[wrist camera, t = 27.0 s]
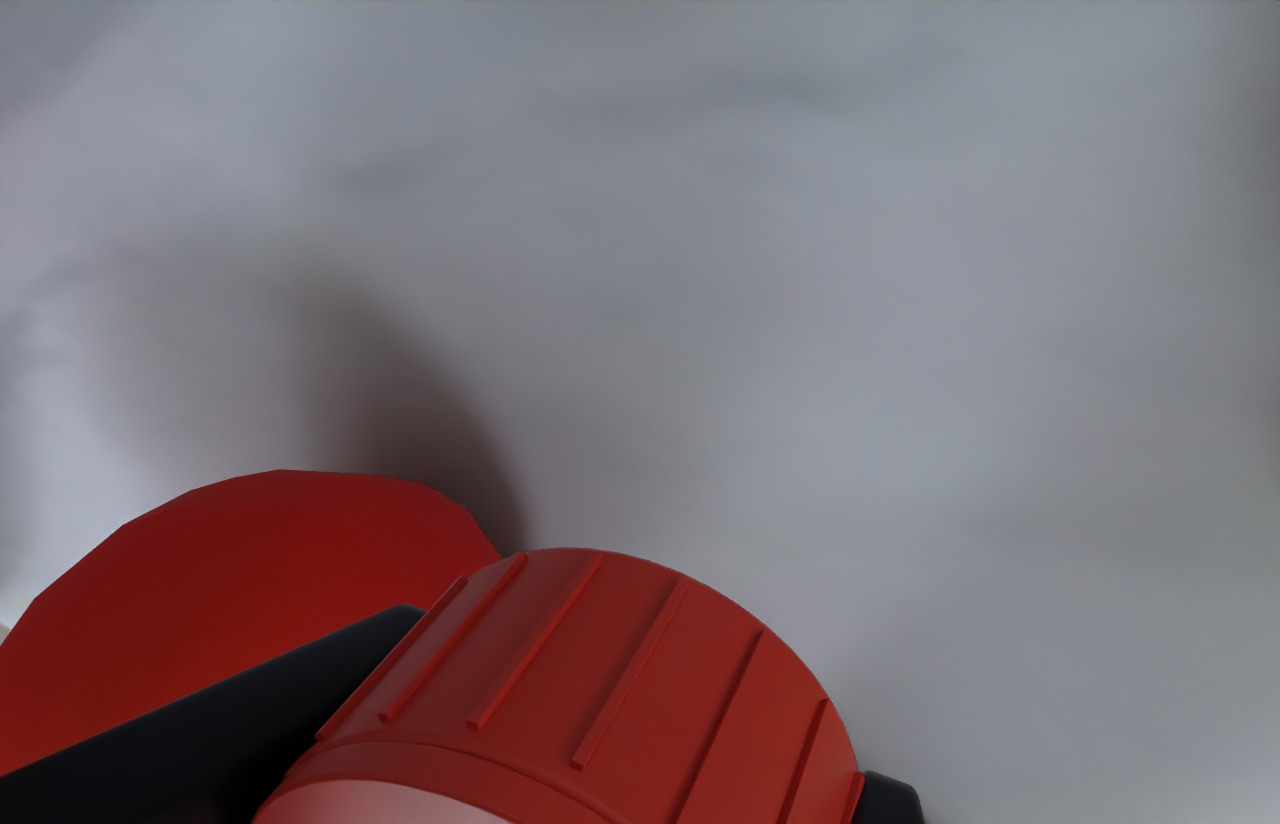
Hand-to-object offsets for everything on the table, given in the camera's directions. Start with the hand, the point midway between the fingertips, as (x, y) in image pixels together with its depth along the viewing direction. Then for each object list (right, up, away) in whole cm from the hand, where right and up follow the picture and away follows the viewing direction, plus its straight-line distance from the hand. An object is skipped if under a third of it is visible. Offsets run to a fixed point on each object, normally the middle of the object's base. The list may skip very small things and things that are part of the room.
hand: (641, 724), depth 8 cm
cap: (-1, -1, -2) cm, 2 cm away
